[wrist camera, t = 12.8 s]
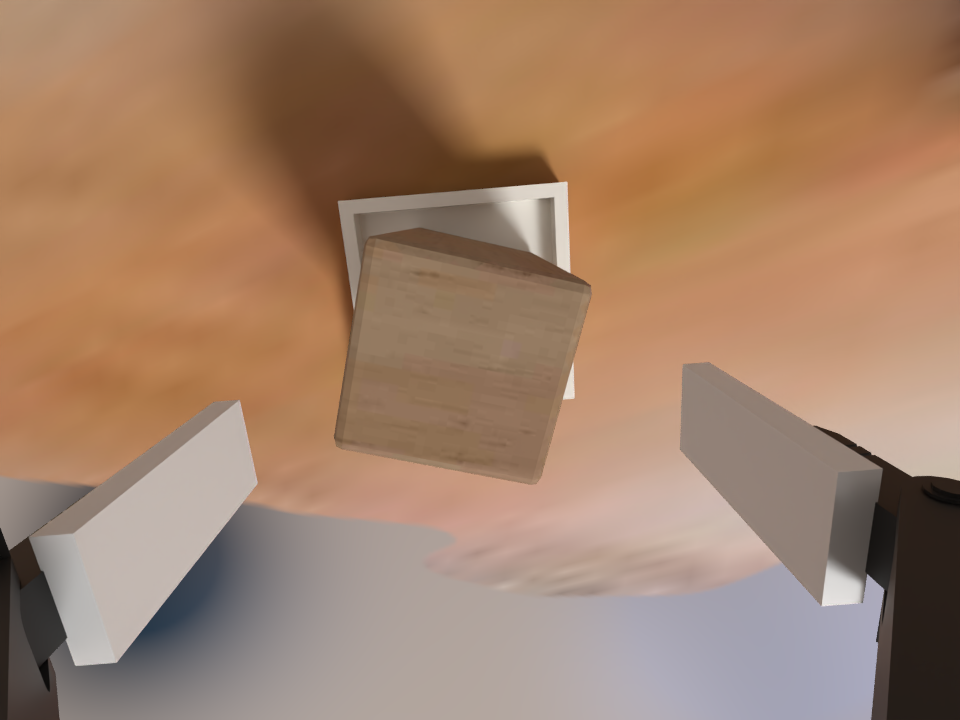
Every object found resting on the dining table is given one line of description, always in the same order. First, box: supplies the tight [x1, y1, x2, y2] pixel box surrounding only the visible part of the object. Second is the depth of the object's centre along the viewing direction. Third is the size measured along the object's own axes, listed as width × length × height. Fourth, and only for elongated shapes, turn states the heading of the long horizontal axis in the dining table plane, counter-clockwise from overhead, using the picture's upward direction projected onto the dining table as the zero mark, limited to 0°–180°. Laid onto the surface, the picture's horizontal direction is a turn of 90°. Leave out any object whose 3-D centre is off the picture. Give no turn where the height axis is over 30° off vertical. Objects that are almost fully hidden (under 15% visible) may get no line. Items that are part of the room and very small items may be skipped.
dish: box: [338, 182, 575, 399], centre depth 42 cm, size 17×17×3 cm
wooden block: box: [334, 227, 592, 485], centre depth 32 cm, size 10×10×20 cm
